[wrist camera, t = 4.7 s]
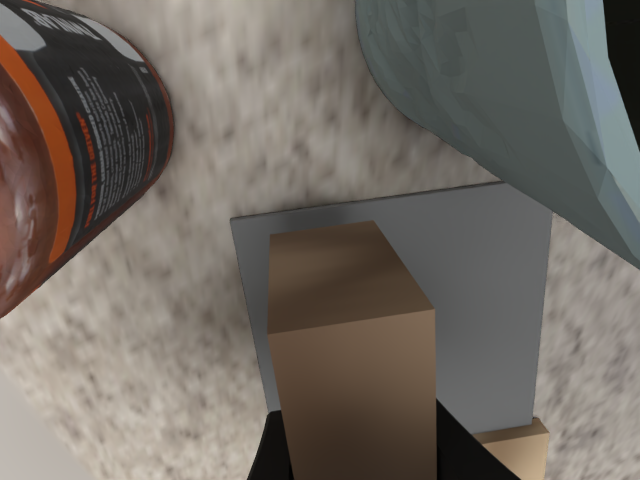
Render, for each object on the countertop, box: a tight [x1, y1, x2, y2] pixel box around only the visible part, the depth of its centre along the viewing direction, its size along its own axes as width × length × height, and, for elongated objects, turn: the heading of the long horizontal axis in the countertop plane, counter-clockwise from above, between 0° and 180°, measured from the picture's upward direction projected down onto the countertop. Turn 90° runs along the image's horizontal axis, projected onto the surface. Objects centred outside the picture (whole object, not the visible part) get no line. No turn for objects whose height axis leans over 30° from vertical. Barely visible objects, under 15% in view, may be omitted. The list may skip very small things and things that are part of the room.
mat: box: [230, 181, 553, 435], centre depth 19 cm, size 12×21×1 cm, turn 6°
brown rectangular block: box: [267, 220, 437, 480], centre depth 12 cm, size 3×10×5 cm, turn 6°
